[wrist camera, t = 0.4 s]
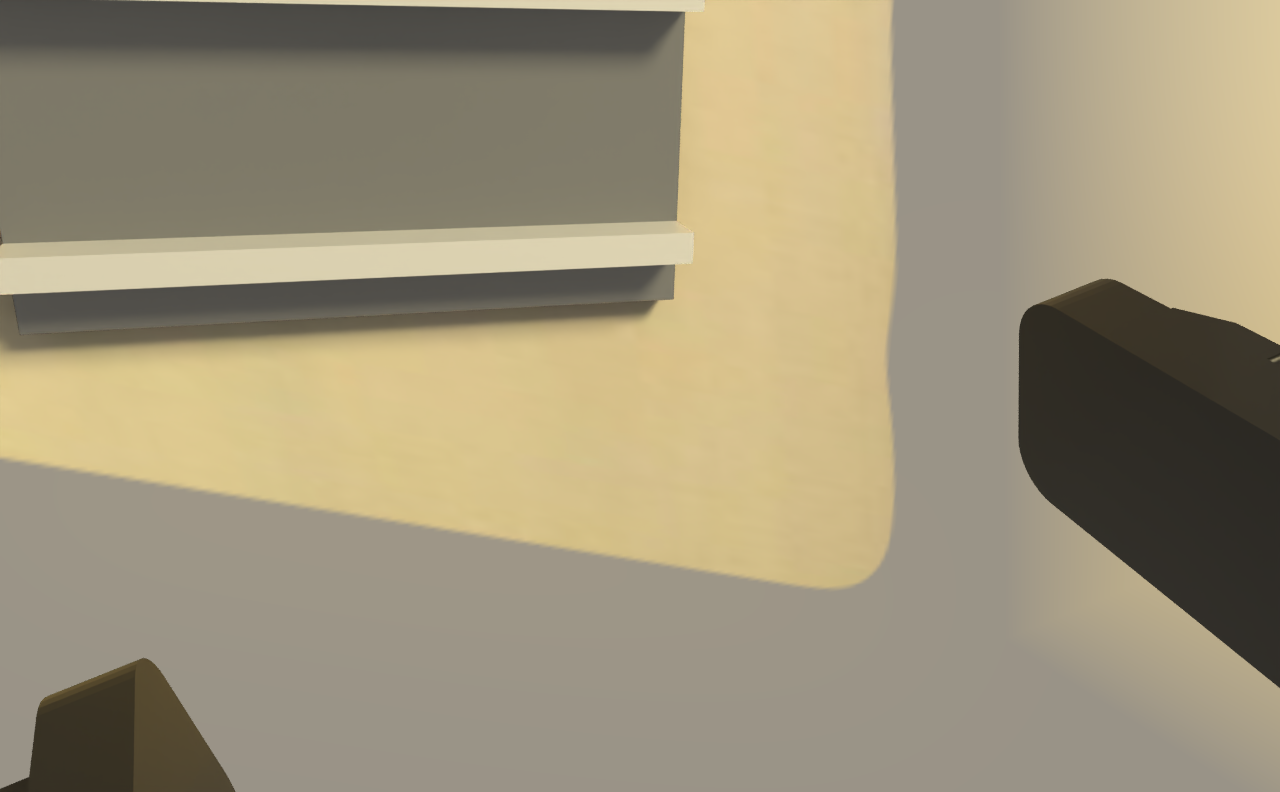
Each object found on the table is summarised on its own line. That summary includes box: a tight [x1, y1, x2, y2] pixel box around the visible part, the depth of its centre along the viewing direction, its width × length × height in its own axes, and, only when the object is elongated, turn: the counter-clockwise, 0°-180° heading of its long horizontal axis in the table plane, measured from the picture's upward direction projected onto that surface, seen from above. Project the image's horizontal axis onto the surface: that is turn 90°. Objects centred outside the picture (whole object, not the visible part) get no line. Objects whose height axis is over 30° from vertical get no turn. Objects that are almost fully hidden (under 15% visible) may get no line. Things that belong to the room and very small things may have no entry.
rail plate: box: [0, 0, 705, 335], centre depth 32 cm, size 12×20×3 cm, turn 89°
